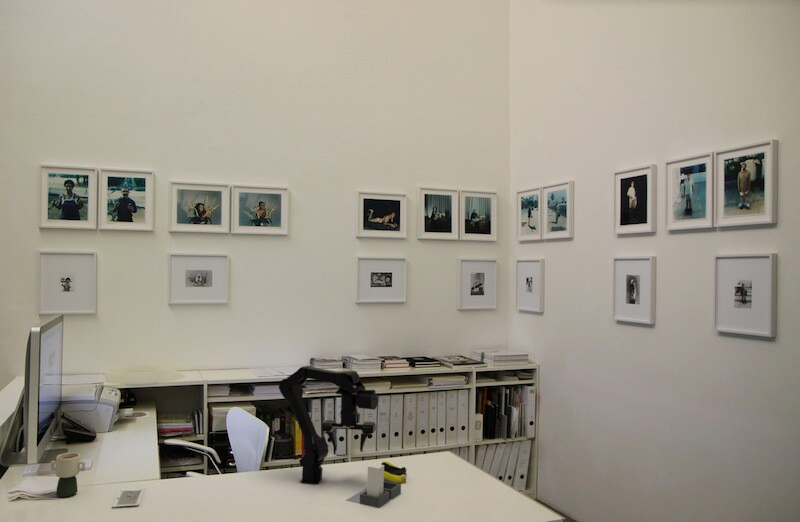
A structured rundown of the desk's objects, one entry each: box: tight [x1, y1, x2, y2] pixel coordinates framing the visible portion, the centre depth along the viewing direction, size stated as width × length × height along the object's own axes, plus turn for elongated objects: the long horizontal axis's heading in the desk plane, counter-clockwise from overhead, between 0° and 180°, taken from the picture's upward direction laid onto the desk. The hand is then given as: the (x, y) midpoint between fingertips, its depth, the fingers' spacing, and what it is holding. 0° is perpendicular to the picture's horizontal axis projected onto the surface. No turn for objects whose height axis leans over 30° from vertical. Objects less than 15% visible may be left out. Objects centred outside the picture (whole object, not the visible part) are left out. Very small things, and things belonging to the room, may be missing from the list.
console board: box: [345, 481, 402, 509], centre depth 213 cm, size 13×16×4 cm
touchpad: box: [112, 488, 146, 508], centre depth 205 cm, size 8×15×2 cm, turn 16°
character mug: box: [50, 452, 86, 498], centre depth 207 cm, size 11×7×13 cm, turn 95°
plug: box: [366, 462, 384, 497], centre depth 207 cm, size 4×4×12 cm
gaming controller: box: [380, 461, 408, 485], centre depth 232 cm, size 15×6×10 cm
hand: (348, 450), depth 224 cm, fingers open, 9 cm apart
